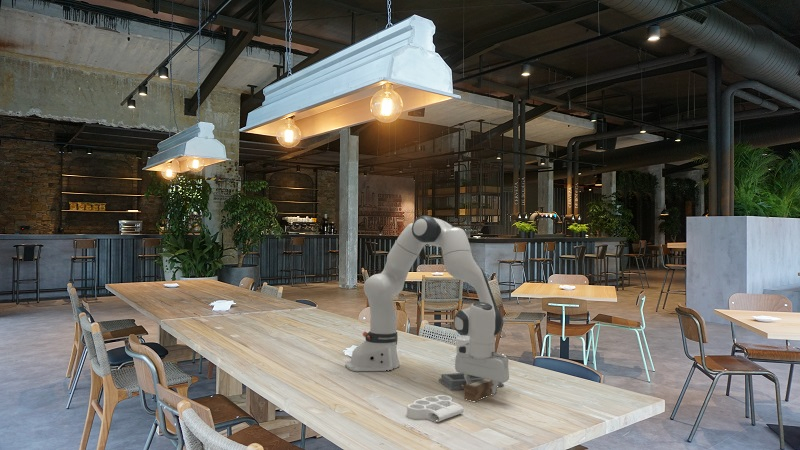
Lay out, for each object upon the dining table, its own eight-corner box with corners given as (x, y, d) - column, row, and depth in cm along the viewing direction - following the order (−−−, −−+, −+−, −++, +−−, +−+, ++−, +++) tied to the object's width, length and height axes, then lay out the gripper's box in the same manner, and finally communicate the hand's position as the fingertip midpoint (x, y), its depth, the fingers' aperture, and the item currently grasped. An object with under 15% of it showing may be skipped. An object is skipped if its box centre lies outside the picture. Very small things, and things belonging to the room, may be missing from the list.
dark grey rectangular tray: (451, 390, 181) (451, 382, 181) (438, 381, 192) (438, 373, 192) (503, 386, 187) (503, 378, 187) (488, 377, 199) (488, 370, 199)
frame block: (474, 403, 169) (474, 387, 169) (464, 400, 172) (464, 384, 172) (496, 393, 179) (496, 379, 180) (486, 391, 182) (486, 376, 182)
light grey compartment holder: (432, 427, 147) (396, 414, 157) (470, 413, 159) (435, 401, 170) (432, 416, 147) (397, 403, 157) (470, 402, 159) (435, 391, 170)
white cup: (473, 359, 229) (473, 336, 229) (473, 363, 221) (474, 340, 221) (455, 358, 230) (456, 336, 230) (455, 362, 222) (456, 339, 222)
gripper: (513, 353, 171) (512, 394, 171) (463, 343, 185) (462, 381, 185) (503, 356, 167) (502, 399, 166) (452, 346, 180) (452, 385, 180)
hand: (480, 389), depth 176 cm, fingers open, 8 cm apart
